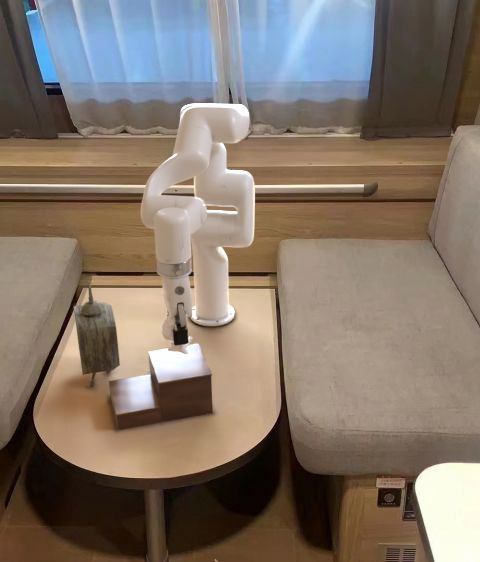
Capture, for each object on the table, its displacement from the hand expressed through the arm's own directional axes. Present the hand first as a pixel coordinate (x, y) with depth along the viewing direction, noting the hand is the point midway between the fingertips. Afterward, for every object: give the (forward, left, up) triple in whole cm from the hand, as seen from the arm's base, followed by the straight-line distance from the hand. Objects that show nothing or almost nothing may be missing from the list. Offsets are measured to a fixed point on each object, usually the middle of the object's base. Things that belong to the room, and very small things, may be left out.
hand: (177, 335), depth 171 cm
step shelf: (0, -5, -18) cm, 19 cm away
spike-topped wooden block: (-17, -17, -18) cm, 30 cm away
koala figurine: (+1, 0, -3) cm, 3 cm away
